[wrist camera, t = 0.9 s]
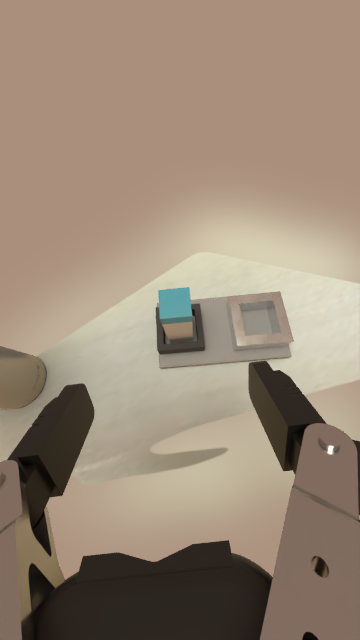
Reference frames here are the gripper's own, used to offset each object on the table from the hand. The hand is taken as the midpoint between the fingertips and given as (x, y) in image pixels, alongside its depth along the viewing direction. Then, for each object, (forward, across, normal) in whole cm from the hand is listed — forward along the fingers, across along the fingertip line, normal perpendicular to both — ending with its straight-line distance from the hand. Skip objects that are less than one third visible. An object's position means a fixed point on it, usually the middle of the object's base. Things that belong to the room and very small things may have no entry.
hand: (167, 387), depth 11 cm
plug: (+26, 0, +10) cm, 28 cm away
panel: (+26, -7, +11) cm, 30 cm away
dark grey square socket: (+27, 0, +11) cm, 29 cm away
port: (+26, -13, +11) cm, 32 cm away
